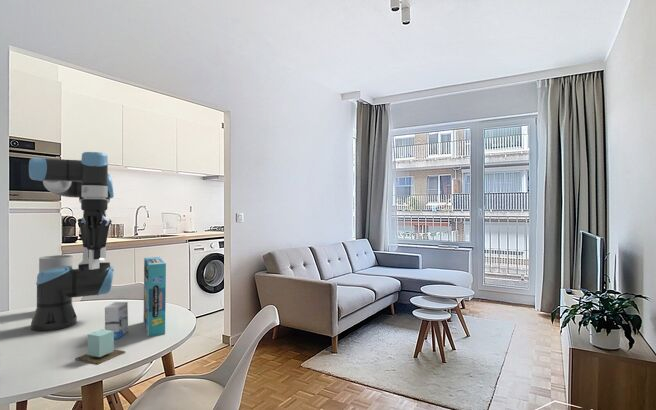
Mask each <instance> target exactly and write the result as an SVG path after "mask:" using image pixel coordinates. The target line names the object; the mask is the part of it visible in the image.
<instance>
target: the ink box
mask: <svg viewBox="0 0 656 410" xmlns="http://www.w3.org/2000/svg"><path fill="white" fill-rule="evenodd" d="M128 306H129V305H128V301H115V302H112V303H111V304H109V305H107V306H105V307H104V330H109V331H114V340H119V339H120V338H122V337H123V336H124V335H125V334H127V333H128V332H129V315H128V314H129V313H128V312H129V311H128V308H129V307H128Z"/></svg>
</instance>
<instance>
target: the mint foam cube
mask: <svg viewBox="0 0 656 410" xmlns="http://www.w3.org/2000/svg"><path fill="white" fill-rule="evenodd" d="M114 341H115V339H114V331H109V330H105V329H99V330H96V331H94V332H90V333H88V334H87V354H88V355H91V356H96V357H101V356H103V355H106V354H108V353H111V352H113V351H114V348H115V345H114V343H115V342H114Z"/></svg>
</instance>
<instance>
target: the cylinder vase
mask: <svg viewBox="0 0 656 410" xmlns="http://www.w3.org/2000/svg"><path fill="white" fill-rule="evenodd" d="M61 266H72V269H73V267H74V266H73V255H71V254H57V255H56V254H55V255H46V256H41V257H39V259H38V273H39V272H41V271H43V270H46V269H50V268H55V267H61Z"/></svg>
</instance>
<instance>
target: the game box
mask: <svg viewBox="0 0 656 410" xmlns="http://www.w3.org/2000/svg"><path fill="white" fill-rule="evenodd" d="M143 262H144V263H143V265H144V267H143V324H144V328H145V331H146V335H147V337H155V336H161V335H166V297H167V296H166V295H167V294H166V288H167V284H166V283H167V280H166V279H167V277H166V276H167V269H166V268H167V264H166V262H165V261H164V260H163V259H162V258H161V257H160V256H151V257H144V258H143Z"/></svg>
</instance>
